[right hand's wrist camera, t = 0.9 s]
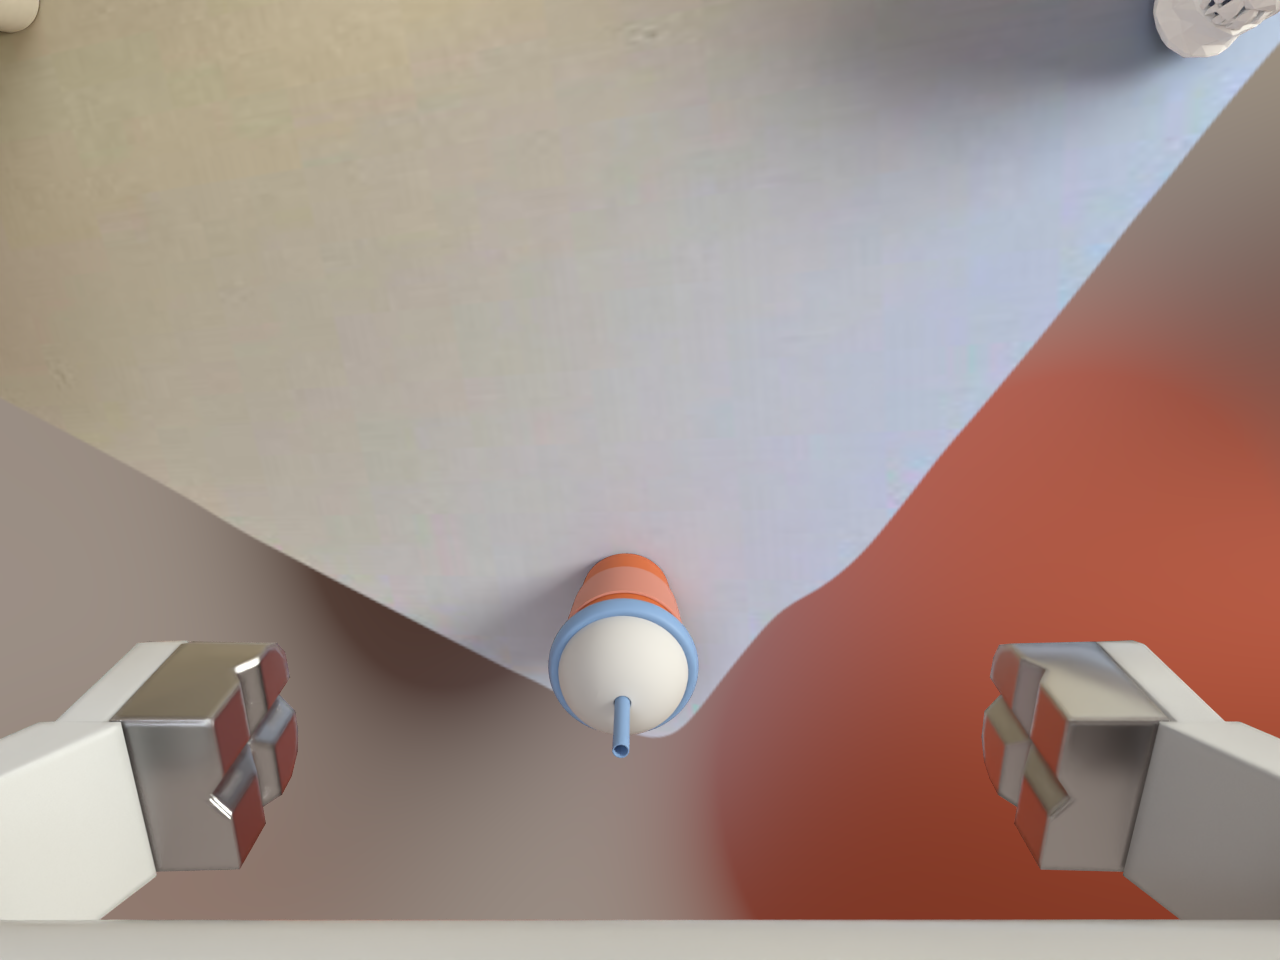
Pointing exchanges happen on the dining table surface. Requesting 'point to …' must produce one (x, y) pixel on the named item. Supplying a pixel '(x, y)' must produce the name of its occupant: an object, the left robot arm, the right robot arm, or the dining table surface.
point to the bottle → (17, 14)
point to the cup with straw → (623, 652)
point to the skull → (1207, 23)
